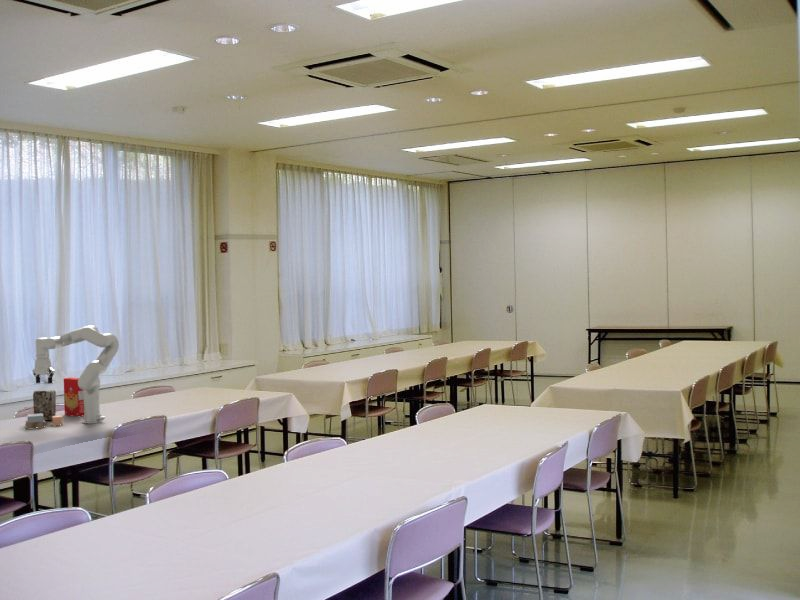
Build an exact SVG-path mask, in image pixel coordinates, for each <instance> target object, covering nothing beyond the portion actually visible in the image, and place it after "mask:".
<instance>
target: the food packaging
mask: <svg viewBox="0 0 800 600" xmlns="http://www.w3.org/2000/svg"><path fill="white" fill-rule="evenodd" d="M79 378H80V377H77V378H76V377H67V378H63V400H64V402H63V403H64V415H65V414H66V415H65V416H70V415H73V416H72V417H78V416H80V417H83V416H82V415H84V390H82V389H80V388H79V386H78V380H79Z"/></svg>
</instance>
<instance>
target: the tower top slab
mask: <svg viewBox="0 0 800 600" xmlns="http://www.w3.org/2000/svg"><path fill="white" fill-rule="evenodd" d="M26 418H27V420H26V421H28V423H35V422H44V421H43V413H39V414H34V413H29V414H27V416H26Z"/></svg>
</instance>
